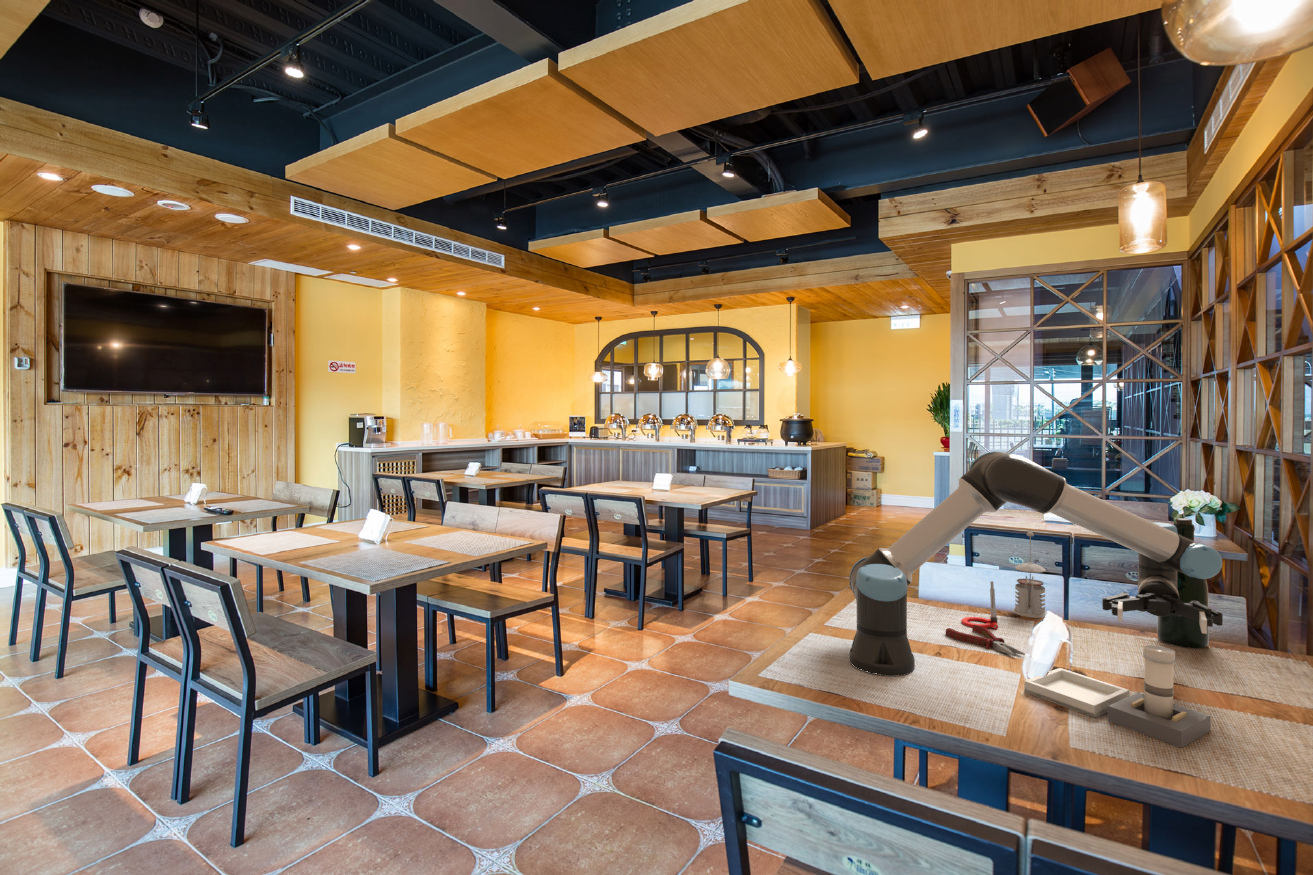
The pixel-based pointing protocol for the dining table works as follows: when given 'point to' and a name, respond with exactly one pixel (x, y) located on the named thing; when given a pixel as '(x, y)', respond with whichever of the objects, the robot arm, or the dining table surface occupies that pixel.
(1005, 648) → the pliers
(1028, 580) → the french press
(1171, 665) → the cylinder
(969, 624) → the tow hook
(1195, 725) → the fuse socket
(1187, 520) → the dark green wine bottle
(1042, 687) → the parts tray
